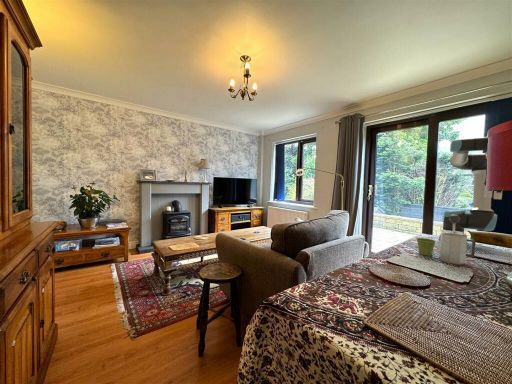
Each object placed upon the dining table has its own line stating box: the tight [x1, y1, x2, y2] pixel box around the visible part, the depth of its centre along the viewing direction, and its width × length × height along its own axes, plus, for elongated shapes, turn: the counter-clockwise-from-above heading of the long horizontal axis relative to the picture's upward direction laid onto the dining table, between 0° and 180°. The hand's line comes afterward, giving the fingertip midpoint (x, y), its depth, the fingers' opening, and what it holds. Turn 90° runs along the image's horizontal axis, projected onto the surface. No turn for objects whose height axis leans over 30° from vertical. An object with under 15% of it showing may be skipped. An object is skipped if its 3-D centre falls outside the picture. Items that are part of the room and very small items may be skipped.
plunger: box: [449, 215, 460, 233], centre depth 118 cm, size 7×7×21 cm
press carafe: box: [438, 229, 476, 266], centre depth 117 cm, size 11×14×16 cm
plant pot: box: [415, 237, 437, 257], centre depth 129 cm, size 9×9×9 cm
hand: (492, 198), depth 118 cm, fingers open, 13 cm apart
